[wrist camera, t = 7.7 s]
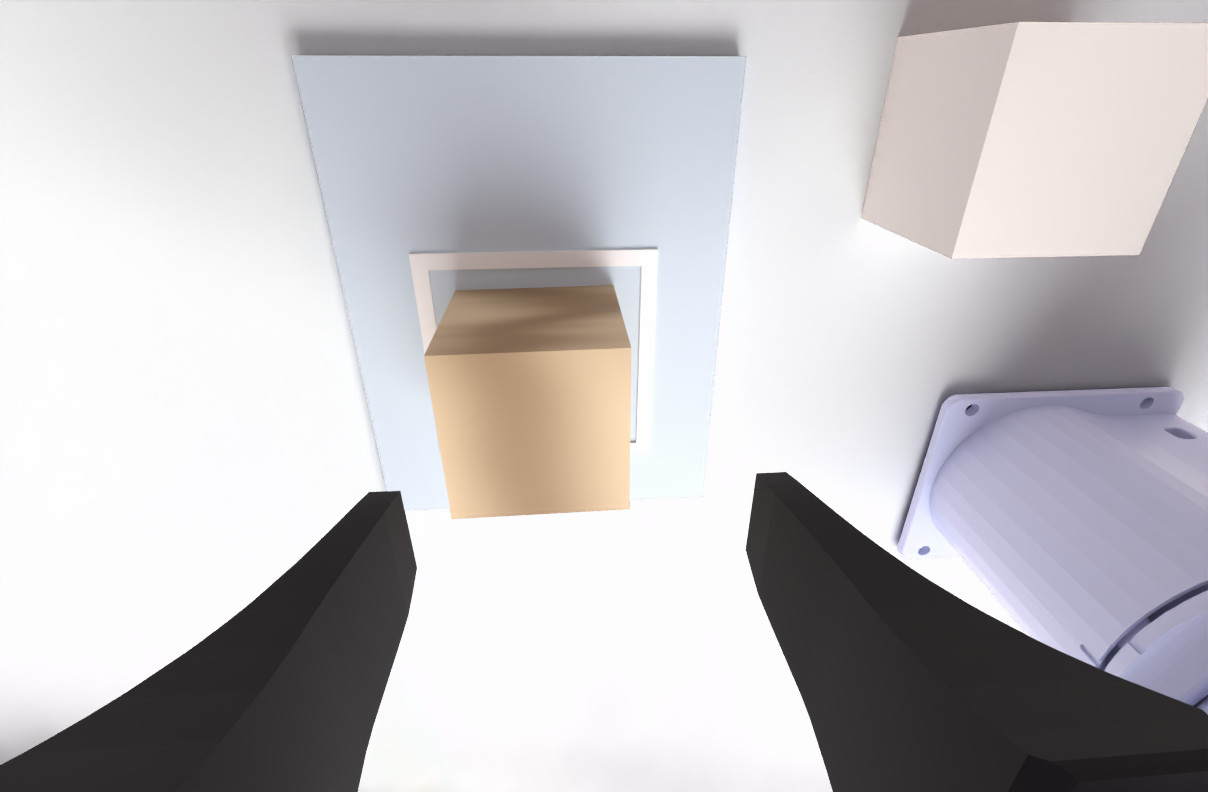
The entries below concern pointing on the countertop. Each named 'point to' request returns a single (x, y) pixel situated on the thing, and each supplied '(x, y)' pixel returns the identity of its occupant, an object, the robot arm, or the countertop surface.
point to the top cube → (1035, 136)
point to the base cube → (532, 401)
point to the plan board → (530, 224)
